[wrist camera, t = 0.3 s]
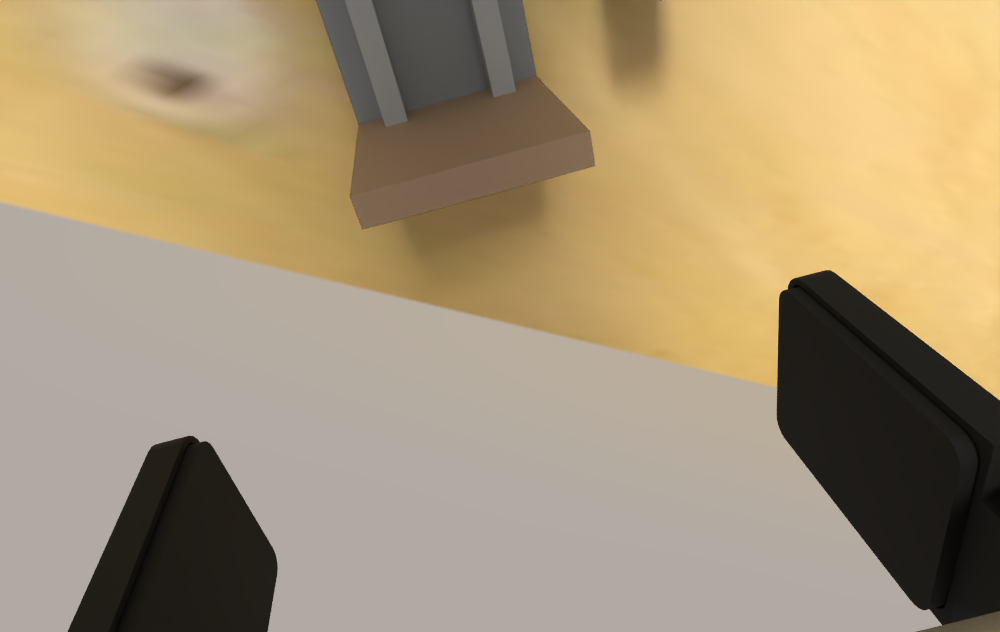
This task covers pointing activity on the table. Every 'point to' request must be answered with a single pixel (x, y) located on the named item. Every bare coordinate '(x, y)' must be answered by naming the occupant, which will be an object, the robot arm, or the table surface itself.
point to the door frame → (446, 104)
